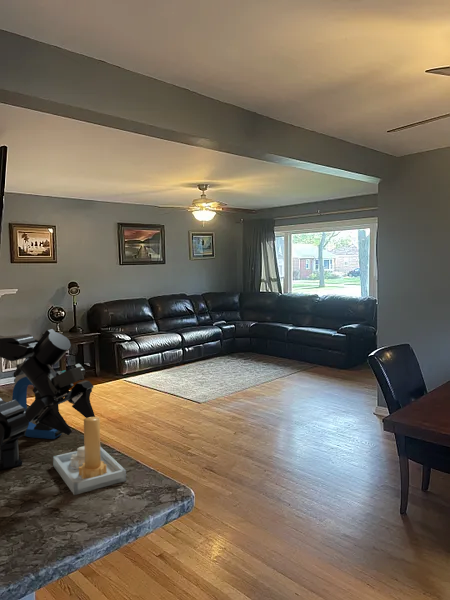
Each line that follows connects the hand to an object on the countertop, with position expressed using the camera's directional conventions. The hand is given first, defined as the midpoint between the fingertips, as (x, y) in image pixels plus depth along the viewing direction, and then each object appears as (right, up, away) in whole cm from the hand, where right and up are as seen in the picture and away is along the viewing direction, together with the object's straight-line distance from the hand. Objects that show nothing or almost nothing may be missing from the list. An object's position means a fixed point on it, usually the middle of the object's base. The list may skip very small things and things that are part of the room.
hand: (82, 427), depth 109 cm
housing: (0, -12, +3) cm, 12 cm away
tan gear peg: (+2, -11, 0) cm, 11 cm away
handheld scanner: (-21, -10, +28) cm, 37 cm away
